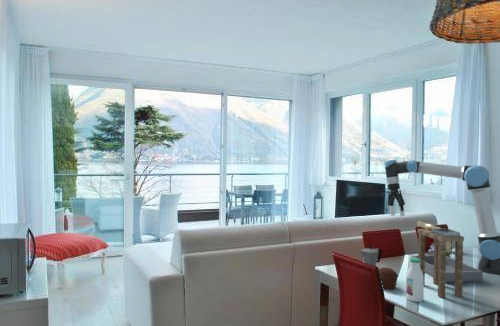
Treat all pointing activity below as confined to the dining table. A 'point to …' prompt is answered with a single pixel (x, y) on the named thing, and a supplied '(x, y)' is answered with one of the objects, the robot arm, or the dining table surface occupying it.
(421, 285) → the milk bottle
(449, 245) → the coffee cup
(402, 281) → the dining table surface
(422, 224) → the hand shovel
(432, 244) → the passion flower
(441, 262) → the stool
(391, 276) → the muffin
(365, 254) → the coffeepot
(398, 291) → the dining table surface
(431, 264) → the tray
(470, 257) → the dining table surface
